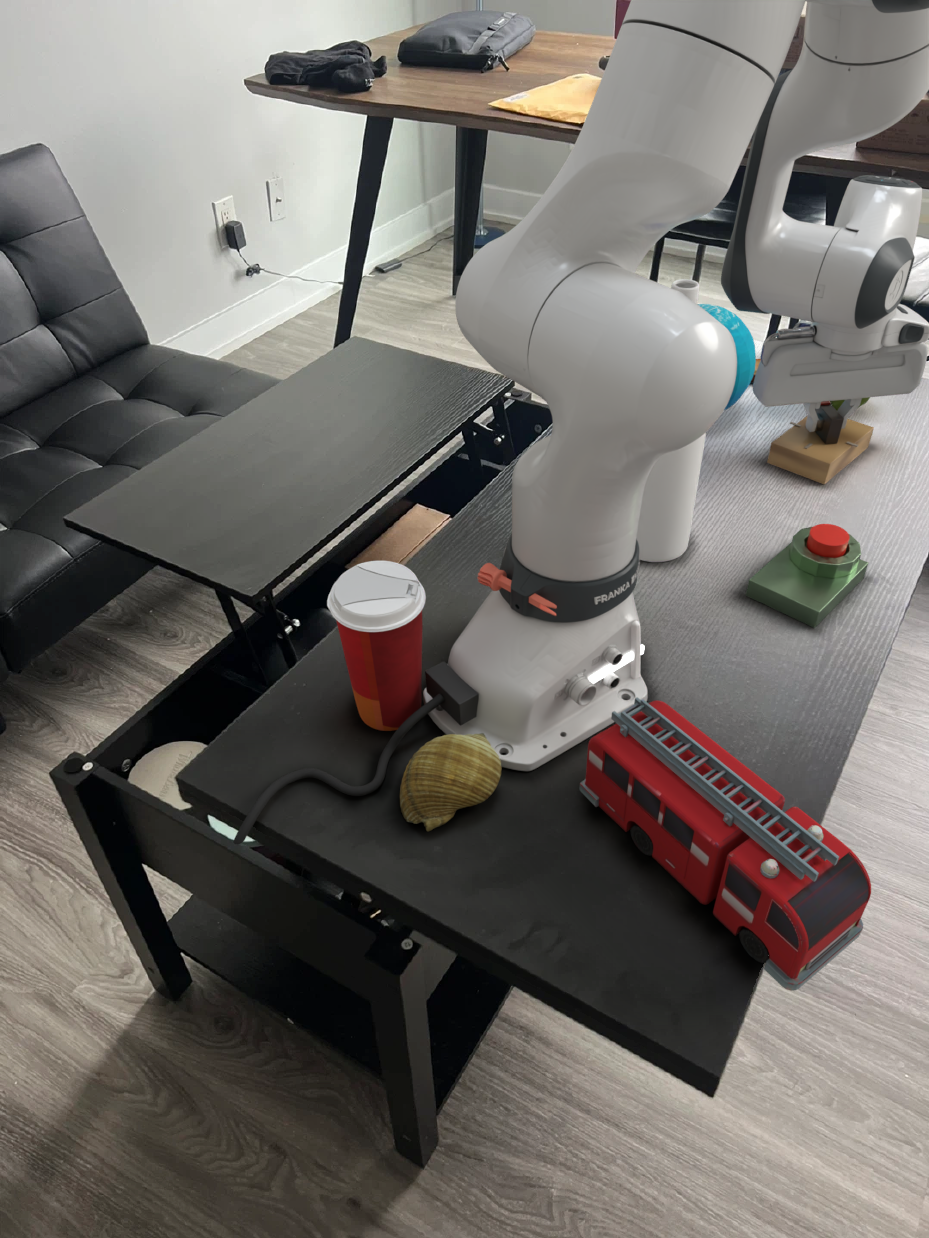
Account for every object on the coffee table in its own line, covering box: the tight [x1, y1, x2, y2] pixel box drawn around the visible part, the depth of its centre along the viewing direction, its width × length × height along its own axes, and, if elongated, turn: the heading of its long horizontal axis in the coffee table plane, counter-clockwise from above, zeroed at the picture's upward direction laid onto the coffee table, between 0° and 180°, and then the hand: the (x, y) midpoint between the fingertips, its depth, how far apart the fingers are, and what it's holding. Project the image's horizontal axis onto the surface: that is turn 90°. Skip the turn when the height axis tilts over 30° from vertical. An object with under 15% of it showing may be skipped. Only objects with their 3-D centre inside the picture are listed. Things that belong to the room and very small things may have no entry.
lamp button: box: [807, 523, 850, 558], centre depth 97 cm, size 4×4×2 cm
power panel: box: [766, 414, 875, 485], centre depth 117 cm, size 12×9×3 cm
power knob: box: [815, 401, 844, 444], centre depth 115 cm, size 5×2×4 cm, turn 7°
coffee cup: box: [326, 560, 427, 732], centre depth 81 cm, size 8×8×15 cm
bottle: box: [636, 278, 707, 563], centre depth 95 cm, size 8×8×30 cm
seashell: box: [399, 733, 503, 832], centre depth 77 cm, size 10×7×8 cm
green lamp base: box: [745, 526, 869, 629], centre depth 97 cm, size 12×8×4 cm, turn 136°
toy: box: [579, 697, 872, 992], centre depth 69 cm, size 8×22×10 cm, turn 35°
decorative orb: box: [697, 303, 757, 412], centre depth 123 cm, size 15×15×15 cm
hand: (824, 428), depth 116 cm, fingers closed on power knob, 2 cm apart
